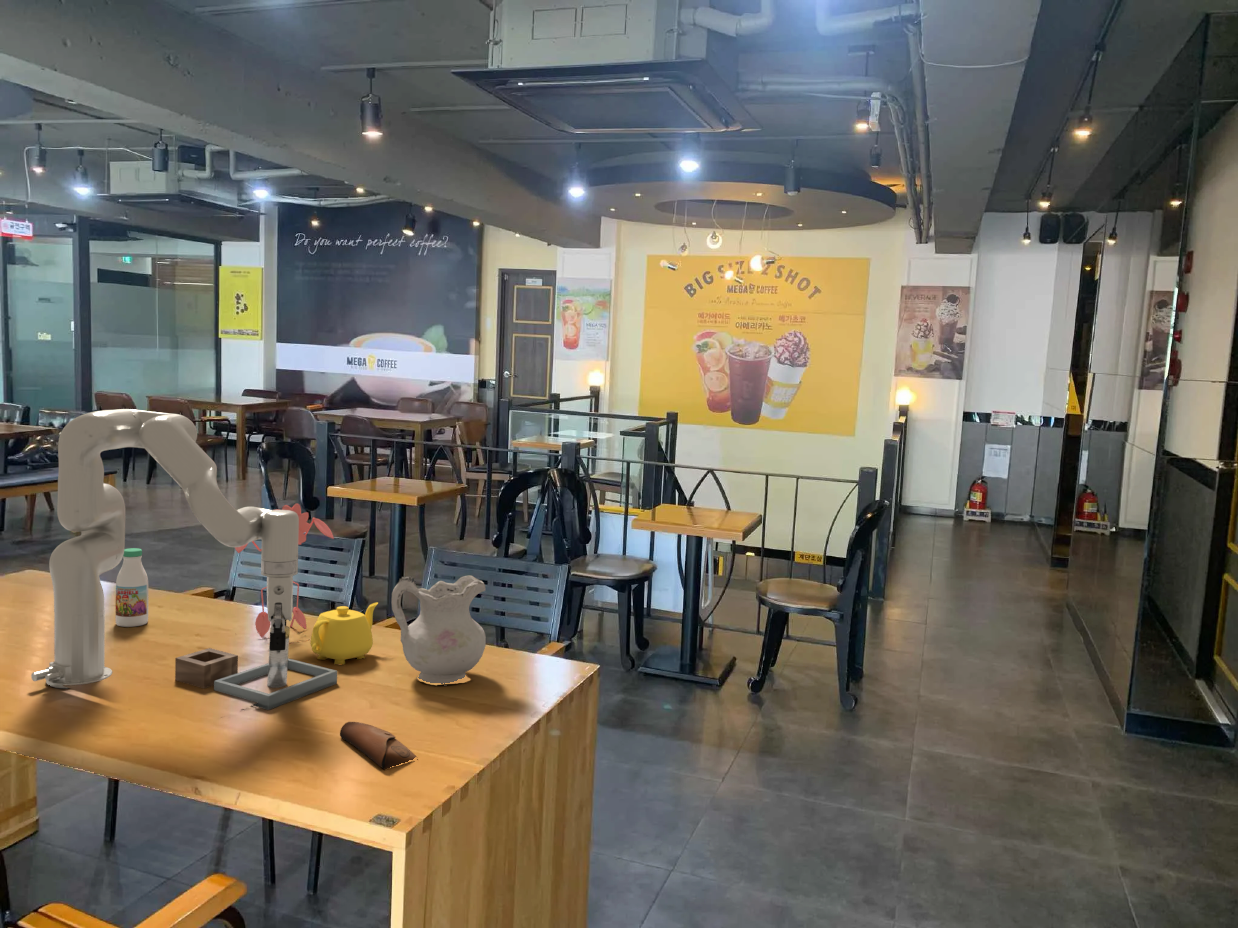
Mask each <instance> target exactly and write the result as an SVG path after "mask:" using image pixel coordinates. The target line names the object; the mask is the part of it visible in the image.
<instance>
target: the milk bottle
mask: <svg viewBox="0 0 1238 928" xmlns="http://www.w3.org/2000/svg"><path fill="white" fill-rule="evenodd" d="M142 558H143V550H142V548H136V547H131V548H124V554H123V557H122V559H123V562H122V565H121V568H120V569H119V572H118V573H117V576H116V579H115V580H116V581H115V624H116V625H117V626H118V627H123V628H124V627H125V628H129V627H132V628H133V627H134V628H135V627H139V626H143V625H146V624H147V623H148V622H149V578H148V575H147V572H146V569H145V568H144V565H143V563H142Z"/></svg>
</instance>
